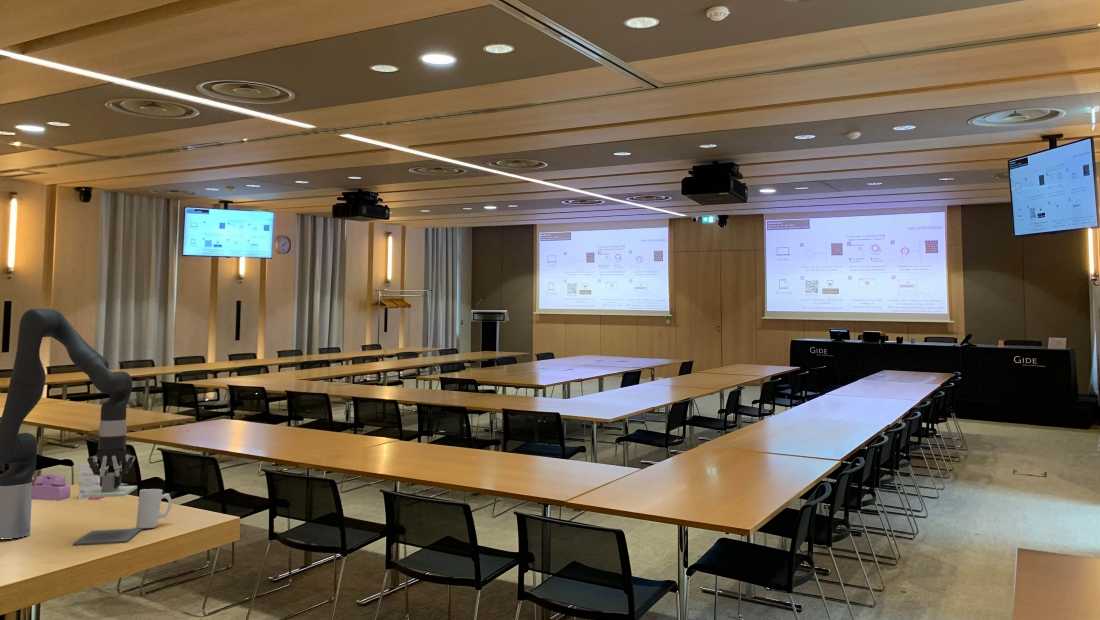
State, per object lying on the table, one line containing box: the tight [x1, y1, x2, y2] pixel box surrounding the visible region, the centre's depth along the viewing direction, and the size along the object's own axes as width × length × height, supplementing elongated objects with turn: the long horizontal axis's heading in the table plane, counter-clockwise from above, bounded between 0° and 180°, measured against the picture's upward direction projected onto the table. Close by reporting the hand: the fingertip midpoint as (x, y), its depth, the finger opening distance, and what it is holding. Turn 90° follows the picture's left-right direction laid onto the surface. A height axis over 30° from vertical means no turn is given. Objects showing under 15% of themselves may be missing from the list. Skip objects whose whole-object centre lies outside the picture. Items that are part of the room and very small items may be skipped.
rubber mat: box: [72, 527, 144, 547], centre depth 224 cm, size 15×15×1 cm
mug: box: [135, 488, 173, 529], centre depth 237 cm, size 10×7×12 cm, turn 120°
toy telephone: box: [32, 474, 71, 501], centre depth 277 cm, size 18×6×10 cm, turn 76°
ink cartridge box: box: [78, 462, 105, 501], centre depth 277 cm, size 9×5×15 cm, turn 81°
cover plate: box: [81, 472, 138, 498], centre depth 225 cm, size 12×12×6 cm
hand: (110, 487), depth 225 cm, fingers closed on cover plate, 3 cm apart
